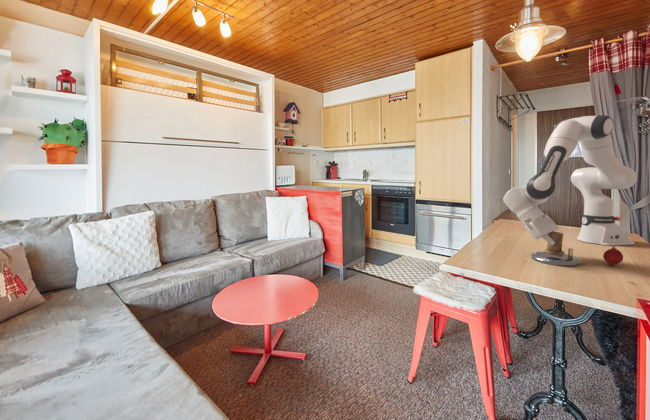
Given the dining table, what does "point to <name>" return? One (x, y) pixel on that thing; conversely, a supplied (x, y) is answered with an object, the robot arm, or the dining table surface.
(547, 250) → the bushing
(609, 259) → the onion
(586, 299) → the dining table surface
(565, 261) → the flange plate
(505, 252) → the dining table surface
